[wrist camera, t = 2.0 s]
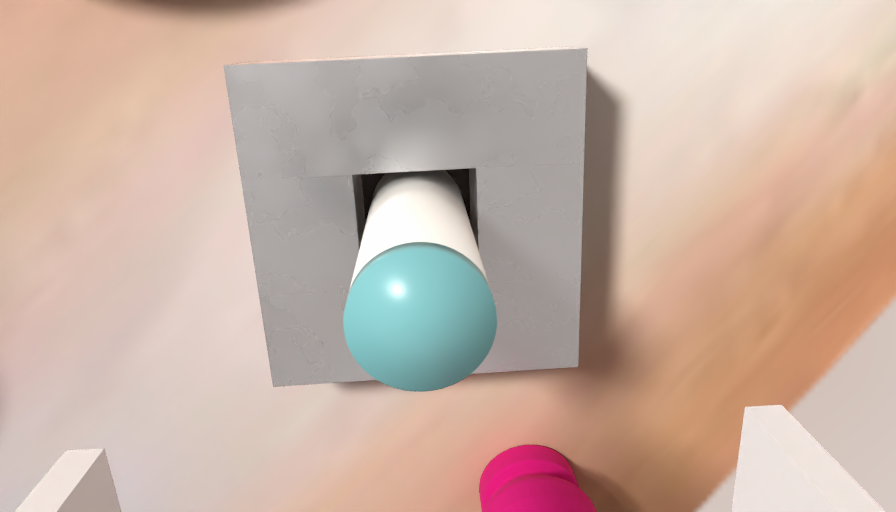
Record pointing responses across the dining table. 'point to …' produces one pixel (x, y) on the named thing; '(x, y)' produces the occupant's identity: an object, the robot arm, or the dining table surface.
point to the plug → (419, 286)
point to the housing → (404, 150)
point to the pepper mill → (531, 483)
